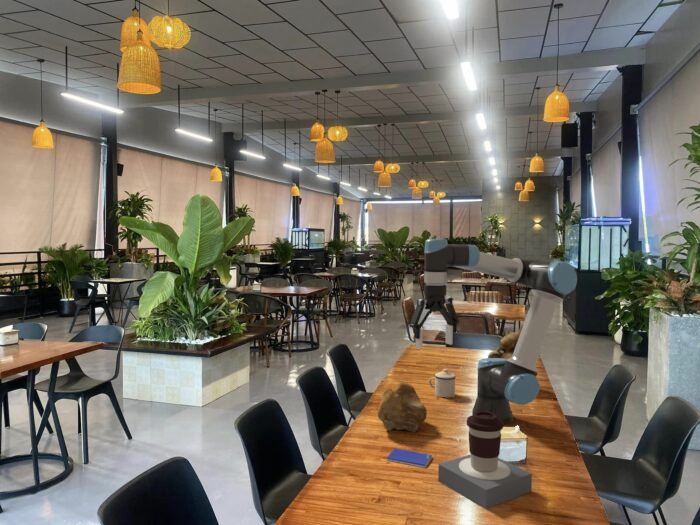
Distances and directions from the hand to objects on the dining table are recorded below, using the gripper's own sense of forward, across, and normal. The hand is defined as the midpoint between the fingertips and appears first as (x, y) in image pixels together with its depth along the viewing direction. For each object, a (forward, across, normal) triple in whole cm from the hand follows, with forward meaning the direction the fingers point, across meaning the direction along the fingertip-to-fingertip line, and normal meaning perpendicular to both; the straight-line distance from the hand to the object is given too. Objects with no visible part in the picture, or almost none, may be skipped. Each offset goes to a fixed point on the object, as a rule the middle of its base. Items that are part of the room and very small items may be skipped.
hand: (434, 346), depth 179 cm
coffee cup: (+28, +10, +33) cm, 44 cm away
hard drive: (+34, +16, +8) cm, 38 cm away
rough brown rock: (+33, 0, -15) cm, 36 cm away
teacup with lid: (+33, -38, -37) cm, 62 cm away
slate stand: (+33, +10, +33) cm, 48 cm away
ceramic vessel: (+33, -72, -27) cm, 84 cm away
